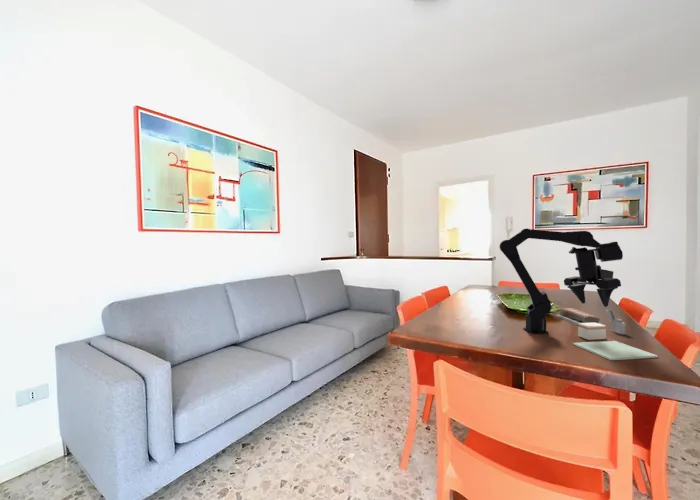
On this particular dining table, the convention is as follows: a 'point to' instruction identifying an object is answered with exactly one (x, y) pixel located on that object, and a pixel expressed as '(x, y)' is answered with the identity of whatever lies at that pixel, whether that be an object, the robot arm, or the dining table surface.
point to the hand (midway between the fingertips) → (594, 304)
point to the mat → (614, 350)
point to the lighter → (616, 323)
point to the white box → (591, 331)
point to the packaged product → (576, 316)
